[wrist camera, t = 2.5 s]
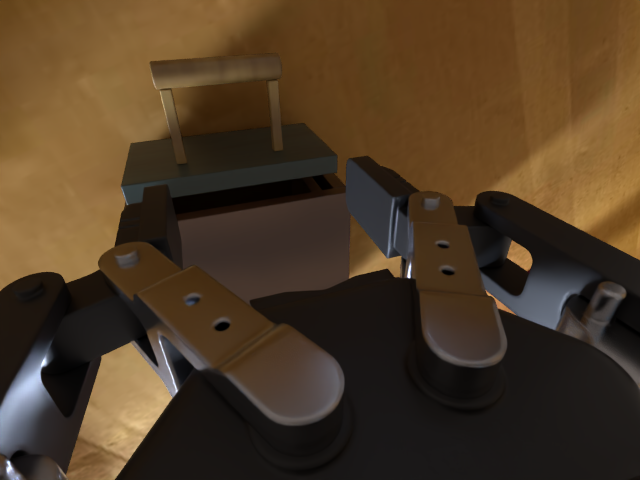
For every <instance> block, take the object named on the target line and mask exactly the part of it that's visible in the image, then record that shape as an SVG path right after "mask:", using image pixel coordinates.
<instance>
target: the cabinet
mask: <svg viewBox="0 0 640 480" xmlns="http://www.w3.org/2000/svg"><path fill="white" fill-rule="evenodd" d="M312 178H313V179H314V180H315V182H316V183H317V184H318V185H319V187H320V188H321V189H322V190H321V191H315V192H309V193H303V194H297V195H291V196H285V197H279V198H273V199H267V200H261V201H255V202H248V203H242V204H236V205H230V206H224V207H218V208H212V209H206V210H200V211H194V212H188V213H182V214H176V218H177V222H178V226H179V230H180V235H181V243H182V261H183V269H185V268H187V267H189V266H191V265H197V266H198V267H200V268H201V269H202V270H204V271H205V272H206V273H208V274H209V275H210V276H212V277H213V278H214V279H215V280H217V281H218V282H219V283H221V284H222V285H223V286H225V287H226V288H227V289H229V290H230V291H231V292H233V293H234V294H235V295H237V296H238V297H239V298H241V299H242V300H243V301H245V302H246V303H247V304H249V305H250V301H249V300H252V299H256V298H261V297H265V296H270V295H274V294H278V293H283V292H292V291H311V290H325V289H328V288H330V287H332V286H335V285H337V284H339V283H341V282H344V281H346V280H348V279H349V248H350V212H349V210H348V208H347V204H346V186H345V185H344V184H343V182H342V181H341V180H340V179H339V178H338V177H337V176H336V175H335V174H334V173H331V174H324V175H318V176H312ZM127 206H128V205H127V204H126V202H125V207H124V209H125V208H126V207H127Z"/></svg>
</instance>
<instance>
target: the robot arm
mask: <svg viewBox="0 0 640 480" xmlns="http://www.w3.org/2000/svg"><path fill="white" fill-rule="evenodd" d="M346 204H347V208H348V210H349V212H350V213H351V215H352V216H353V217H354V218H355V219H356V221H357V222H358V223H359V224H360V226H361V227H362V228H363V229H364V230H365V232H366V233H367V234H368V235H369V236H370V238H371V239H372V240H373V241H374V243H375V244H376V245H377V246H378V247H379V249H380V250H381V251H382V252H383V254H384V255H385V256H386V257H387V258H392V257H396V256H402V257H401V265H400V277H394V276H393V275H392V273H391V272H390V271H389V270H388V269H384V270H380V271H375V272H371V273H366V274H362V275H358V276H355V277H352V278H350V279H348V280H346V281H344V282H341V283H339V284H337V285H335V286H332V287H330V288H328V289H325V290H311V291H292V292H283V293H278V294H274V295H270V296H265V297H261V298H256V299H252V300H249V301H250V305H249V304H247V303H246V302H245V301H243V300H242V299H241V298H239V297H238V296H237V295H235V294H234V293H233V292H231V291H230V290H229V289H227V288H226V287H225V286H223V285H222V284H221V283H219V282H218V281H217V280H215V279H214V278H213V277H212V276H210V275H209V274H208V273H206V272H205V271H204V270H202V269H201V268H200V267H198V266H197V265H191V266H189V267H187V268H185V269H183V261H182V243H181V235H180V230H179V226H178V222H177V218H176V214H175V210H174V206H173V202H172V198H171V194H170V190H169V187H168V185H167V184H163V185H156V186H149V187H144V191H143V199H142V202H140V203H133V204H129V205H128V206H127V207H126V208H125V209H124V210H123V211H122V213H121V218H120V222H119V227H118V228H119V229H118V232H117V237H116V242H115V247H114V248H111V249H110V250H108V251H107V252H105V253H104V254H103V255H102V256H101V257H100V259H99V261H98V266H99V268H100V269H99V270H98V271H96V272H94V273H92V274H90V275H87V276H85V277H82V278H80V279H77V280H74V281H71V282H69V283H65V281H64V279H63V277H62V276H61V275H60V274H58V273H54V272H41V273H36V274H32V275H28V276H25V277H23V278H20V279H18V280H16V281H14V282H12V283H11V284H9V285H7V286H6V287H5V288H3V289H2V290H1V291H0V480H69V479H68V478H67V476H66V473H67V470H68V466H69V463H70V460H71V457H72V453H73V450H74V447H75V444H76V440H77V437H78V434H79V431H80V428H81V424H82V421H83V418H84V415H85V411H86V408H87V405H88V402H89V398H90V395H91V392H92V389H93V385H94V382H95V379H96V376H97V372H98V369H99V366H100V363H101V356H102V355H104V354H106V353H109V352H111V351H113V350H115V349H117V348H119V347H121V346H123V345H126V344H128V343H130V342H131V344H132V345H133V346H134V347H135V348H136V349H137V351H138V352H139V353H140V354H141V355H142V357H143V358H144V359H145V360H146V361H147V363H148V364H149V365H150V366H151V367H152V369H153V370H154V371H155V372H156V373H157V375H158V376H159V377H160V378H161V380H162V381H163V382H164V384H165V386H166V387H167V389H168V391H169V393H170V395H171V396H172V400H171V401H170V403H169V404H168V405H167V407H166V408H165V410H164V411H163V413H162V414H161V415H160V417H159V418H158V420H157V421H156V422H155V424H154V425H153V427H152V428H151V430H150V431H149V432H148V434H147V435H146V437H145V438H144V439H143V441H142V442H141V444H140V445H139V446H138V448H137V449H136V451H135V452H134V454H133V455H132V456H131V458H130V459H129V461H128V462H127V463H126V465H125V466H124V468H123V469H122V470H121V472H120V473H119V475H118V476H117V478H116V479H115V480H640V260H638V259H636V258H634V257H632V256H630V255H628V254H626V253H625V252H623V251H621V250H619V249H617V248H615V247H613V246H611V245H609V244H607V243H605V242H603V241H601V240H599V239H597V238H595V237H593V236H591V235H589V234H588V233H586V232H584V231H582V230H580V229H578V228H576V227H574V226H572V225H570V224H568V223H566V222H564V221H562V220H560V219H558V218H556V217H554V216H553V215H551V214H549V213H547V212H545V211H543V210H541V209H539V208H537V207H535V206H533V205H531V204H529V203H527V202H525V201H523V200H521V199H519V198H518V197H516V196H513V195H511V194H508V193H504V192H499V191H486V192H482V193H479V194H478V195H477V197H476V201H475V206H453V202H452V200H451V199H450V198H449V197H448V196H446V195H444V194H441V193H438V192H432V191H421V192H420V191H418V190H417V189H416V188H415V187H413V186H412V185H411V184H410V183H408V182H406V180H405V179H403V178H402V177H400V175H398V174H397V173H396V172H395V171H393V170H391V169H388V168H386V167H383V166H380V165H379V164H377V163H376V162H375V161H374V160H373V159H371V158H370V157H369V156H363V157H356V158H349V159H348V160H347V164H346ZM512 240H513V241H515V242H516V243H518V244H520V245H521V246H523V247H524V248H526V249H527V250H528V251H529V252H530V254H531V256H532V260H533V263H532V266H531V269H530V272H529V273H528V272H527V271H526V270H524V269H523V268H521V267H520V266H518V265H517V264H515V263H514V262H512V261H511V260H509V259H508V258H506V257H507V254H508V251H509V247H510V244H511V241H512ZM486 290H487V291H488V292H489V293H490V294H491V295H493V296H494V297H495V298H496V299H498V300H499V301H500V302H501V303H503V304H504V305H505V306H506V307H508V308H509V309H510V310H511V311H513V312H514V313H515V314H516V315H517V316H516V315H514V314H511V313H509V312H506V311H503V310H501V309H498V308H497V305H496V302H495V300H494V298H493V297H492V296H488V295H487V293H486Z"/></svg>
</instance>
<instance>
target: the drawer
mask: <svg viewBox="0 0 640 480" xmlns="http://www.w3.org/2000/svg"><path fill="white" fill-rule="evenodd" d="M149 65H150V71H151V76H152V80H153V83H154V87H155V89H157V90H158V89H160V94H161V99H162V103H163V107H164V111H165V115H166V120H167V124H168V128H169V132H170V137H171V139H162V140H154V141H145V142H137V143H131V145H130V149H129V153H128V158H127V162H126V166H125V171H124V175H123V179H122V184H121V189H122V192H123V195H124V198H125V201H126V204H127V205H129V204H133V203H140V202H142V199H143V191H144V187H149V186H156V185H163V184H167V185H168V187H169V190H170V194H171V198H172V202H173V206H174V210H175V214H182V213H188V212H194V211H200V210H206V209H212V208H218V207H224V206H230V205H236V204H242V203H248V202H255V201H261V200H267V199H273V198H279V197H285V196H291V195H297V194H303V193H309V192H315V191H321V190H322V189H321V188H320V187H319V185H318V184H317V183H316V182H315V180H314V179H313V178H312V176H318V175H324V174H331V173H337V155H336V154H335V153H334V152H333V151H332V150H331V149H330V148H329V147H328V146H327V145H326V144H325V143H324V142H323V141H322V140H321V139H320V138H319V137H318V136H317V135H316V134H315V133H314V132H313V131H312V130H311V129H309V128H308V127H307V126H306V125H305V124H304V123H300V124H291V125H282V126H281V115H280V102H279V88H278V80H277V79H281V76H282V64H281V59H280V56H279V54H278V53H268V54H253V55H238V56H223V57H208V58H193V59H178V60H163V61H151V62H150V63H149ZM264 80H266V82H267V93H268V104H269V115H270V127H265V128H257V129H248V130H240V131H231V132H222V133H214V134H205V135H197V136H188V137H182V135H181V131H180V126H179V122H178V117H177V113H176V108H175V103H174V99H173V94H172V90H171V88H181V87H193V86H205V85H217V84H229V83H240V82H252V81H264Z"/></svg>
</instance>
